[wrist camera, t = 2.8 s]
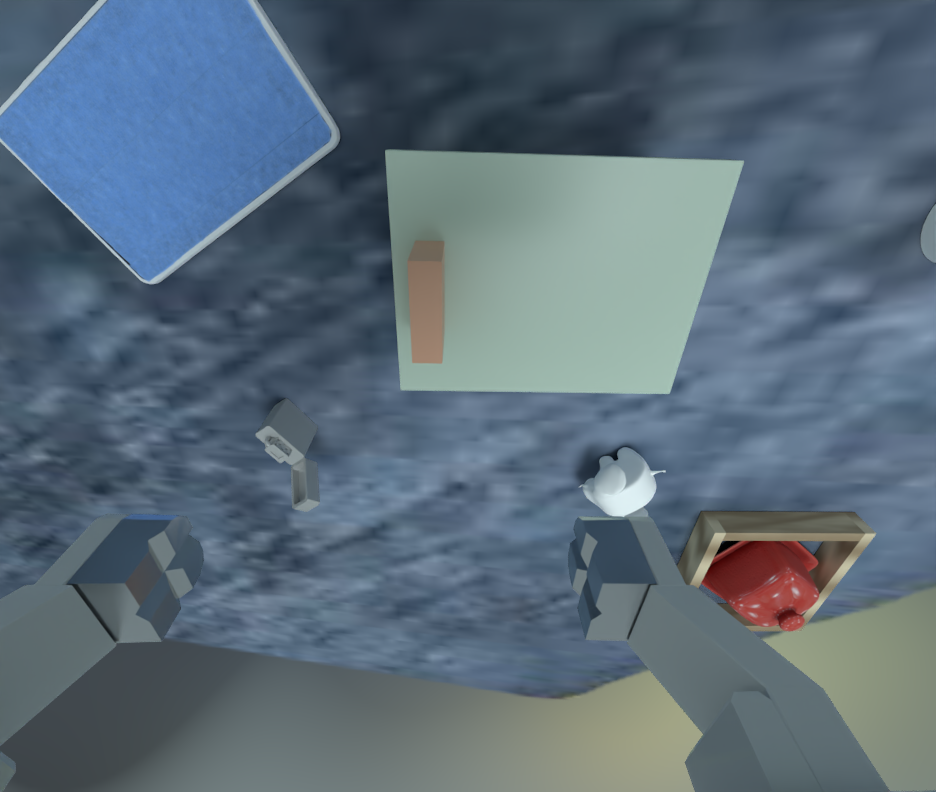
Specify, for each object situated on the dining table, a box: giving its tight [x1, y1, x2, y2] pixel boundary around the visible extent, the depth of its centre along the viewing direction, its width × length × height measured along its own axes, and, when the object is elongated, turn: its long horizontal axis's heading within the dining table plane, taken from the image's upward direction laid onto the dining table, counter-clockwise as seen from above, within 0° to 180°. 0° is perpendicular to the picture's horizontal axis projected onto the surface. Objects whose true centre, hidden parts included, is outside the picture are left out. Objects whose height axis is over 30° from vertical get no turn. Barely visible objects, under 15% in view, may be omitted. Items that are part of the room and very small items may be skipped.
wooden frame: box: [677, 511, 876, 631], centre depth 51 cm, size 18×17×3 cm
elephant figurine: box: [579, 447, 666, 517], centre depth 41 cm, size 7×8×6 cm
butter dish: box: [701, 541, 819, 631], centre depth 49 cm, size 12×12×8 cm
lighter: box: [256, 398, 320, 512], centre depth 37 cm, size 7×2×8 cm, turn 34°
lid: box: [385, 149, 744, 394], centre depth 23 cm, size 13×17×6 cm
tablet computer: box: [0, 0, 340, 284], centre depth 28 cm, size 19×13×1 cm, turn 121°
